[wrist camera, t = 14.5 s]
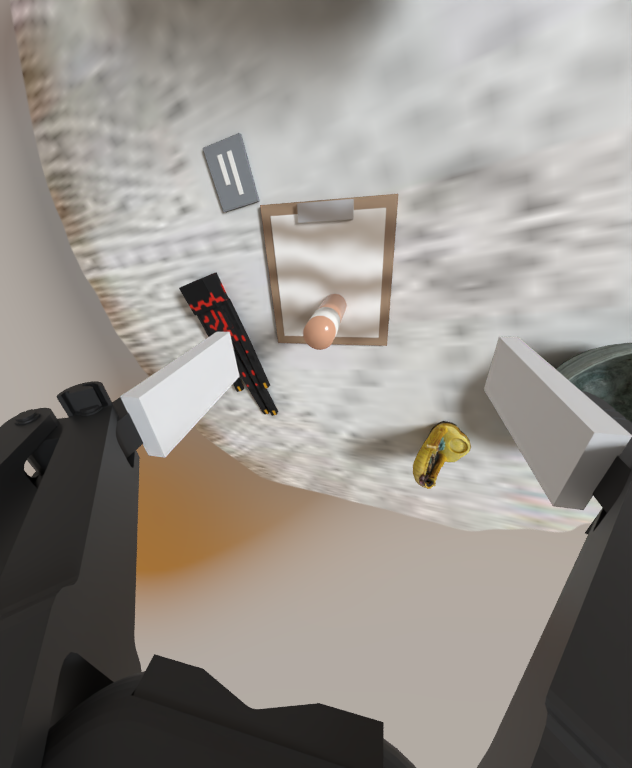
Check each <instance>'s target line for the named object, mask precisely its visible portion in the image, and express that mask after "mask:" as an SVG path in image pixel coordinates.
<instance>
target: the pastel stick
mask: <svg viewBox="0 0 632 768" xmlns="http://www.w3.org/2000/svg"><path fill="white" fill-rule="evenodd" d="M346 308H347V304H346V301H345V299H344V298H343V297H342V296H341V295H339V294H330V295H328V296H327V297H326V298H325V300H324V301H323V302H322V304H321V305H320V306H319V308H318V309H317V310H316V311H315V313H314V314H313V315H312V317H311V318H310V319H309V321H308V322H307V324H306V326H305V327H304V330H303V337H304V340H305V341H306V343H307V344H308V345H309V346H310V347H312V348H314V349H319V350H321V349H325V348H327V347H329V346H330V345H331V344H332V342H333V340H334V338H335V336H336V334H337V331H338V329H339V327H340V323H341V321H342V318H343V316H344V313H345V311H346Z"/></svg>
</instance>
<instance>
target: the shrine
mask: <svg viewBox="0 0 632 768" xmlns="http://www.w3.org/2000/svg"><path fill="white" fill-rule="evenodd" d="M470 449H471V445H470V440H469V439H468V438H467V436H466V435H465V434H464V433H463V432H462V431H460V429H459V428H458V427H457V426H456V424H453V423H450V422H445V421H443V422H440V423H439V424H437V425H436V426H435V427H433V428H432V430H431V432H430V434H429V437H428V438H427V440H426V441H425V442H424V444H423V445H422V447H421V449H420V450H419V452H418V454H417V456H416V458H415V461H414V464H413V475H414V478H415V481H416V482H417V483H418V484H419V485H420V486H422V487H425V488H427V489H431V488H432V487H433V486H435V484H436V483H435V481H436V479H437V475H438V473H439V471H440V469H441V467H442V466H443V465H444V462H456V461H457V460H459V459H460V458H461V457H463V456H464V455H466V454H467V453H468V452H469V451H470Z"/></svg>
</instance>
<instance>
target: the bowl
mask: <svg viewBox="0 0 632 768" xmlns="http://www.w3.org/2000/svg"><path fill="white" fill-rule="evenodd" d="M556 370H557V371H558V372H559V373H561V374H562V375H563V376H564V377H565V378H566V379H568V380H569V381H570V382H571V383H572V384H573V385H574V386H576V387H577V388H578V389H579V390H580V391H586V392H589V393H591V394H593V395H595V396H597V397H599V398H601V399H603V400H604V401H605V402H607V403H608V404H609V405H610V406H612V407H613V408H614V409H615V410H616V412H619V413H620V414H621V415H623V416H624V417H625V418H626V420H629V421H630V422H631V423H632V343H623V344H615V345H608V346H603V347H599V348H595V349H592V350H589V351H587V352H584V353H582V354H580V355H577V356H575V357H573V358H572V359H570V360H568V361H567V362H565V363H563V364H562V365H561V366H559V367H558V368H557V369H556Z"/></svg>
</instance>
